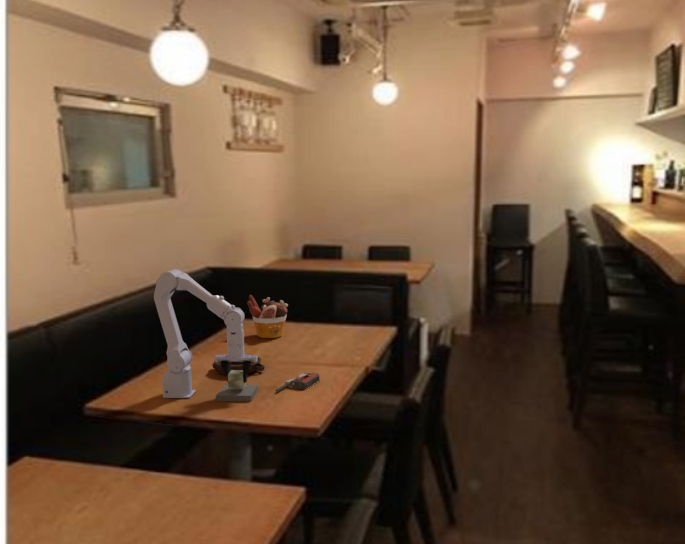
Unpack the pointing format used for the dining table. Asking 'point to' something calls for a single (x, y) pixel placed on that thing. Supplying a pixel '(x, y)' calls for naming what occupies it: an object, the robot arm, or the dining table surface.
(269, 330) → the bucket of meat
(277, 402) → the dining table surface
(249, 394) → the stand
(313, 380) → the walkie-talkie
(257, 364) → the dish
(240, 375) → the cube
